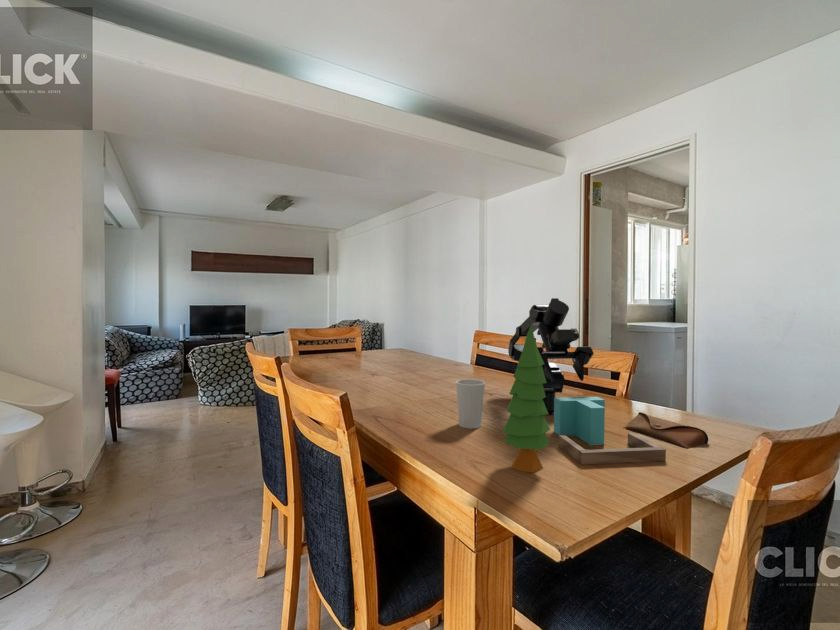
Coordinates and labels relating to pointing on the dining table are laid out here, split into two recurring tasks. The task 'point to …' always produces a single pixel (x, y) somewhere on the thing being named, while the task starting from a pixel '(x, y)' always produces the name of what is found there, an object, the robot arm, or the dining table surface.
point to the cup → (470, 402)
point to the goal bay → (615, 451)
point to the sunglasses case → (668, 431)
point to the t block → (580, 418)
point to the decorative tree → (527, 408)
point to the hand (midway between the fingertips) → (567, 380)
